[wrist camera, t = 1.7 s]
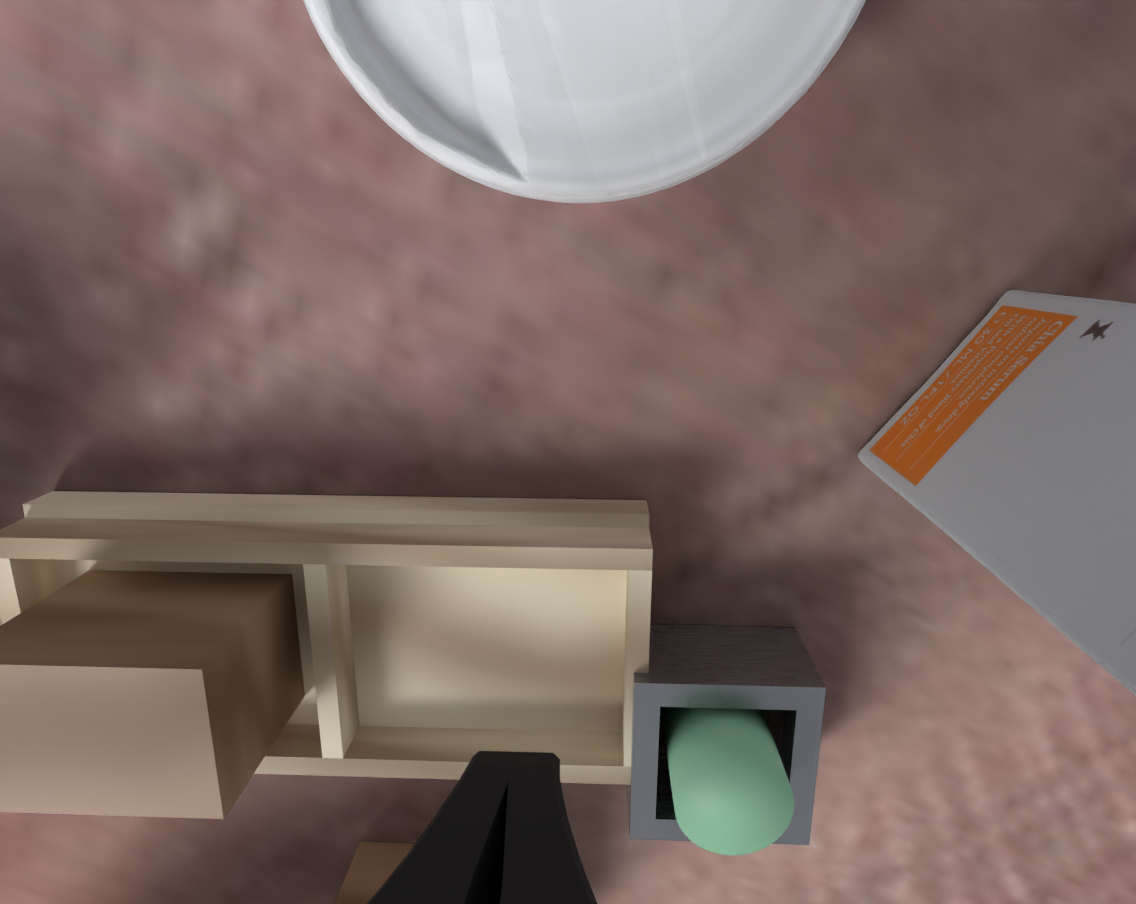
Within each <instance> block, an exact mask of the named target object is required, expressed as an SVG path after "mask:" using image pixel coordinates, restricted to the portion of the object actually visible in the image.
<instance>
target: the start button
mask: <svg viewBox="0 0 1136 904" xmlns="http://www.w3.org/2000/svg"><path fill="white" fill-rule="evenodd" d="M663 727H664V738H665V745H666V752H667V760H668V767H669V774H670V781H671V789H672V796H673V803H674V810H675V816H676V820H677V822H678V825H679V827H680V828H681V830H682V831H683V833H684V834H685V835H686V836H687V837H688V838H689V839H690V840H691V841H692V842H693V843H695V844H696V845H698V846H699V847H701V848H703V849H705V850H708V851H710V852H714V853H718V854H723V855H742V854H748V853H752V852H756V851H758V850H761V849H763V848H765V847H767V846H769V845H770V844H772V843H773V842H775V841H776V840H777V839H778V838H779V837H780V836H781V835H782V834H783V833H784V832H785V830H786V829H787V828H788V826H789V824H790V822H791V819H792V816H793V812H794V795H793V792H792V789H791V786H790V783H789V780H788V778H787V775H786V772H785V769H784V767H783V764H782V761H781V758H780V756H779V753H778V750H777V747H776V744H775V742H774V739H773V736H772V733H771V731H770V728H769V725H768V722H767V719H766V717H765V714H764V711H763V709H728V708H689V707H669V708H668V710H667V713H666V715H665V719H664V725H663Z"/></svg>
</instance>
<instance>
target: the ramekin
mask: <svg viewBox="0 0 1136 904" xmlns="http://www.w3.org/2000/svg"><path fill="white" fill-rule="evenodd" d="M865 1H866V0H304V3H305V5H306V8H307V10H308V13H309V15H310V18H311V20H312V22H313V24H314V26H315V28H316V30H317V32H318V34H319V36H320V38H321V39H322V41H323V43H324V45H325V46H326V48H327V50H328V51H329V53H330V55H331V56H332V58H333V59H334V61H335V62H336V64H337V65H338V67H339V68H340V70H341V71H342V72H343V74H344V75H345V76H346V78H347V79H348V80H349V82H350V83H351V84H352V86H353V87H354V88H355V90H356V91H357V92H358V93H359V95H360V96H361V97H362V98H363V99H364V100H365V101H366V102H367V103H368V104H369V106H370V107H371V108H372V109H373V110H374V111H375V112H376V113H377V114H378V115H379V116H380V117H381V118H382V119H383V120H384V121H385V122H386V123H387V124H388V125H389V126H390V127H391V128H392V129H394V130H395V131H396V132H397V133H398V134H400V135H401V136H402V137H403V138H404V139H406V140H407V141H408V142H409V143H411V144H412V145H413V146H415V147H416V148H417V149H419V150H420V151H421V152H423V153H425V154H426V155H428V156H429V157H431V158H432V159H434V160H435V161H437V162H439V163H440V164H442V165H444V166H446V167H447V168H449V169H451V170H453V171H455V172H457V173H459V174H461V175H463V176H465V177H467V178H469V179H471V180H474V181H476V182H478V183H481V184H483V185H485V186H488V187H491V188H494V189H497V190H500V191H503V192H506V193H510V194H513V195H517V196H522V197H528V198H533V199H539V200H545V201H552V202H563V203H598V202H610V201H618V200H623V199H629V198H634V197H638V196H643V195H648V194H651V193H654V192H657V191H660V190H664V189H667V188H670V187H673V186H675V185H678V184H680V183H682V182H685V181H687V180H689V179H692V178H694V177H696V176H698V175H700V174H702V173H704V172H706V171H708V170H710V169H712V168H714V167H716V166H718V165H719V164H721V163H722V162H724V161H725V160H727V159H728V158H730V157H732V156H733V155H735V154H736V153H738V152H739V151H741V150H742V149H744V148H745V147H746V146H748V145H749V144H751V143H752V142H753V141H754V140H756V139H757V138H758V137H759V136H761V135H762V134H763V133H765V132H766V131H767V130H768V129H769V128H770V127H771V126H772V125H773V124H774V123H776V122H777V121H778V120H779V119H780V118H781V117H782V116H783V115H784V114H785V113H786V112H787V111H788V110H789V109H790V108H791V107H792V106H793V105H794V104H795V103H796V102H797V101H798V100H799V99H800V98H801V97H802V96H803V95H804V94H805V93H806V92H807V90H808V89H809V88H810V87H811V86H812V84H813V83H814V82H815V81H816V79H817V78H818V77H819V76H820V74H821V73H822V72H823V71H824V69H825V68H826V66H827V65H828V63H829V62H830V61H831V59H832V58H833V56H834V55H835V53H836V52H837V51H838V49H839V48H840V46H841V45H842V43H843V41H844V40H845V38H846V36H847V34H848V33H849V31H850V29H851V28H852V26H853V24H854V23H855V21H856V19H857V17H858V15H859V13H860V11H861V9H862V7H863V5H864V3H865Z"/></svg>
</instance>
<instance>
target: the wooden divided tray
mask: <svg viewBox="0 0 1136 904" xmlns="http://www.w3.org/2000/svg"><path fill="white" fill-rule="evenodd" d="M22 505H23V510H24V515H25V518H23V519H21V520H19V521H17V522H15V523H12V524H10V525H8V526H6V527H4V528H2V529H0V617H1V621H2V624H4V623H6V622H7V621H9V620H10V619H12V618H14V617H15V616H17V615H18V614H20V613H22V612H23V611H25V610H26V609H28V608H30V607H31V606H33V605H34V604H36V603H38V602H39V601H41V600H42V599H44V598H46V597H47V596H49V595H50V594H52V593H54V592H55V591H57V590H58V589H60V588H61V587H63V586H65V585H66V584H68V583H69V582H71V581H73V580H74V579H76V578H77V577H79V576H81V575H82V574H84V573H85V572H87V571H89V570H106V571H158V572H209V573H261V574H292V578H293V587H294V597H295V606H296V616H297V625H298V635H299V644H300V654H301V663H302V673H303V683H304V692H305V696H304V698H303V699H302V701H301V702H300V704H299V705H298V707H297V709H296V710H295V712H294V713H293V715H292V716H291V718H290V719H289V721H288V722H287V724H286V725H285V727H284V728H283V730H282V731H281V733H280V734H279V736H278V737H277V739H276V740H275V742H274V743H273V745H272V746H271V748H270V750H269V751H268V753H267V754H266V756H265V757H264V759H263V760H262V762H261V763H260V765H259V766H258V768H257V769H256V771H255V772H254V774H283V775H317V776H350V777H384V778H418V779H452V780H459V779H460V778H461V776H462V774H463V773H464V771H465V769H466V767H467V766H468V764H469V762H470V760H471V758H472V757H473V756H474V755H475V754H476V753H477V752H478V751H508V752H547V753H554V754H555V755H556V756H557V757H558V758H559V759H560V782H561V783H587V784H621V785H630V778H631V744H632V710H633V677H634V673H648V672H649V644H650V616H651V588H652V560H653V547H652V542H651V536H650V531H649V510H648V505H647V500H603V499H537V498H472V497H406V496H341V495H275V494H210V493H144V492H79V491H52V492H49V493H47V494H45V495H43V496H40V497H38V498H36V499H33V500H31V501H29V502H27V503H24V504H22Z"/></svg>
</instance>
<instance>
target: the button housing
mask: <svg viewBox="0 0 1136 904" xmlns="http://www.w3.org/2000/svg"><path fill="white" fill-rule="evenodd" d="M825 693H826V687H825V685H824V683H823V681H822V679H821V677H820V675H819V673H818V671H817V669H816V667H815V666H814V664H813V662H812V660H811V658H810V656H809V654H808V652H807V650H806V648H805V646H804V645H803V643H802V641H801V639H800V637H799V635H798V633H797V631H796V629H795V627H761V626H715V625H668V624H650V644H649V672H648V673H634V677H633V710H632V744H631V778H630V785H627V797H628V815H629V834H630V839H642V840H673V841H691V840H690V839H689V838H688V837H687V836H686V835H685V834H684V833H683V831H682V830H681V828H680V827H679V825H678V822H677V820H676V816H675V810H674V803H673V796H672V789H671V781H670V774H669V767H668V760H667V752H666V745H659V723H660V707H689V708H728V709H764V714H765V717H766V719H767V722H768V725H769V728H770V731H771V733H772V736H773V739H774V742H775V744H776V747H777V750H778V753H779V756H780V758H781V761H782V764H783V767H784V769H785V772H786V775H787V778H788V780H789V783H790V786H791V789H792V792H793V795H794V812H793V816H792V819H791V822H790V824H789V826H788V828H787V829H786V830H785V832H784V833H783V834H782V835H781V836H780V837H779V838H778V839H777V840H776V841H775V842H773V843H772V844H797V845H809V840H810V831H811V822H812V813H813V803H814V794H815V785H816V776H817V767H818V757H819V748H820V739H821V730H822V721H823V711H824V702H825Z"/></svg>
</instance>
